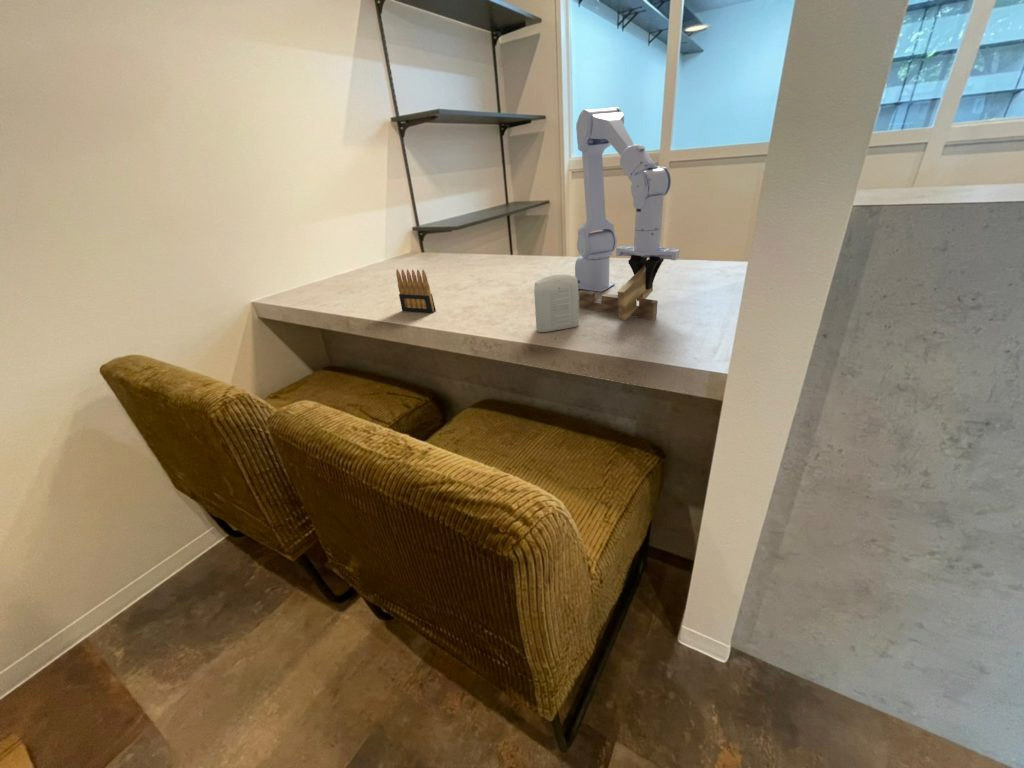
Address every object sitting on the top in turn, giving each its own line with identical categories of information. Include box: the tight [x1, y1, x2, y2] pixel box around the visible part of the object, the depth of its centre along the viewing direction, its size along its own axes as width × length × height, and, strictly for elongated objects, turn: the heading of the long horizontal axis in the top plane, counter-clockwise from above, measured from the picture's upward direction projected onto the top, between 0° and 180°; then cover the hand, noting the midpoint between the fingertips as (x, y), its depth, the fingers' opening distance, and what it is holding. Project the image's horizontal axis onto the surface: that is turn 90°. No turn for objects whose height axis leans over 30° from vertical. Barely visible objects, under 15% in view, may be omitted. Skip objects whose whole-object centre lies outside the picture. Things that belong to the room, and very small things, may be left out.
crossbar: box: [617, 265, 654, 320], centre depth 97 cm, size 2×14×7 cm, turn 139°
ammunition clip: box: [395, 269, 437, 314], centre depth 116 cm, size 11×2×12 cm, turn 65°
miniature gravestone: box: [533, 274, 580, 333], centre depth 95 cm, size 10×4×12 cm, turn 103°
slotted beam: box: [578, 289, 659, 321], centre depth 102 cm, size 20×2×4 cm, turn 49°
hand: (644, 287), depth 100 cm, fingers closed on crossbar, 2 cm apart
